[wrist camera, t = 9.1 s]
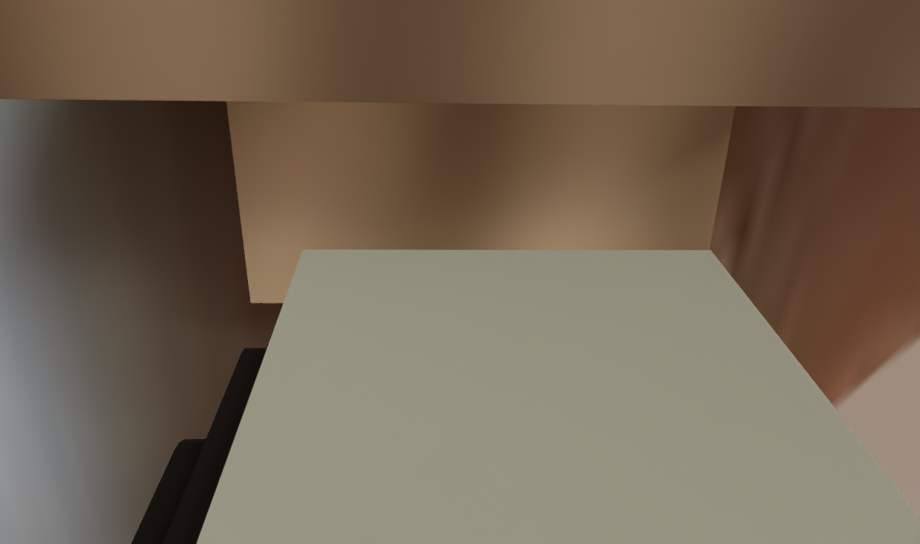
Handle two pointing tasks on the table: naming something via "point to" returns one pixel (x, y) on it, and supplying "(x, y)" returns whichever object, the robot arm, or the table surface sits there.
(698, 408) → the cabinet
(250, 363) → the robot arm
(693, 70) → the brown box
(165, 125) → the table surface
